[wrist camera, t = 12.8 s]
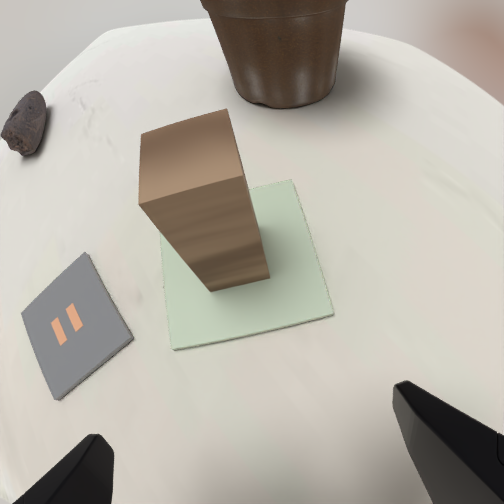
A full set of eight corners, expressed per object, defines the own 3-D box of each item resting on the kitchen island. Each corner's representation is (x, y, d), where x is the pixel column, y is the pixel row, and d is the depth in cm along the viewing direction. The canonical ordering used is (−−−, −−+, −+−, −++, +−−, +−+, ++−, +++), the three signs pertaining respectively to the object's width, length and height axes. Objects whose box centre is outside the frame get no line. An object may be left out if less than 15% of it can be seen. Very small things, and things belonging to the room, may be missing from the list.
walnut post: (270, 278, 24) (242, 175, 13) (210, 292, 24) (138, 204, 13) (258, 225, 26) (226, 108, 15) (202, 239, 26) (141, 134, 15)
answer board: (332, 315, 22) (333, 313, 22) (174, 350, 23) (171, 349, 22) (291, 183, 28) (291, 179, 27) (161, 217, 28) (158, 213, 28)
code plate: (134, 338, 24) (130, 336, 23) (58, 400, 22) (54, 399, 21) (88, 254, 28) (84, 251, 27) (24, 314, 26) (20, 313, 25)
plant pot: (381, 96, 31) (394, -30, 17) (257, 144, 30) (224, -8, 16) (304, 41, 38) (295, -56, 24) (201, 76, 37) (168, -29, 23)
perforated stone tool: (37, 113, 43) (18, 87, 37) (59, 100, 43) (41, 72, 37) (17, 171, 37) (-10, 144, 30) (41, 157, 36) (15, 126, 30)
